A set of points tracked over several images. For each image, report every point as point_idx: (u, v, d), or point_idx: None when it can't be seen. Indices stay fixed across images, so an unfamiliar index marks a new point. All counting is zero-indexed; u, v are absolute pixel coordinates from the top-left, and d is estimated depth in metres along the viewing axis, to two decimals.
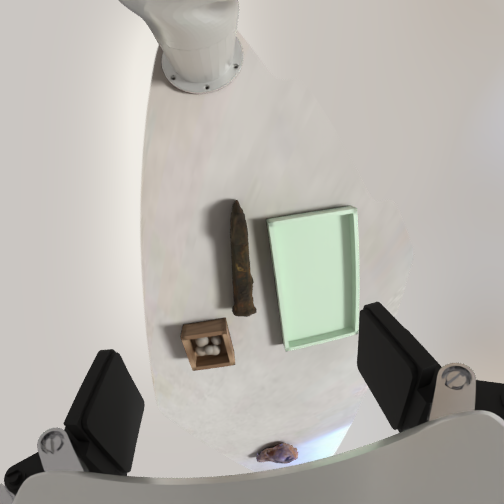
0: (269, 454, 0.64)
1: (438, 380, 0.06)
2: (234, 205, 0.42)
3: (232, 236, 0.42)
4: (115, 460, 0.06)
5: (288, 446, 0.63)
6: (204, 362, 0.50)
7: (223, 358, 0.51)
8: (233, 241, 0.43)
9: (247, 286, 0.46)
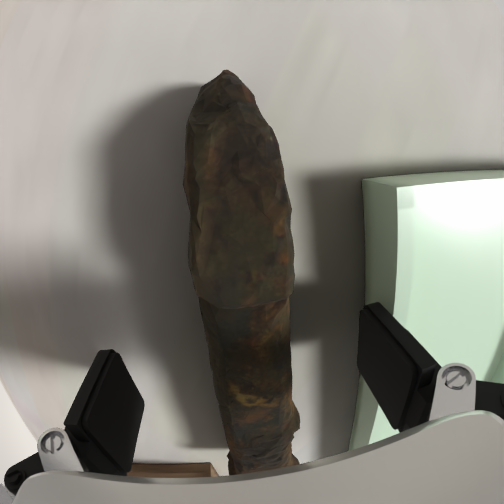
0: None
1: (438, 380, 0.06)
2: (210, 83, 0.06)
3: (197, 263, 0.06)
4: (115, 460, 0.06)
5: None
6: None
7: None
8: (206, 292, 0.07)
9: (279, 441, 0.10)
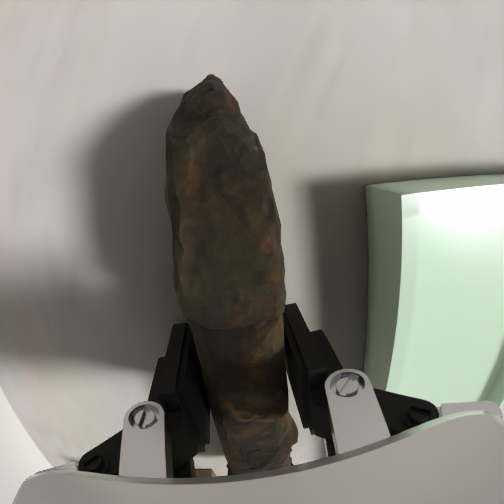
0: None
1: (325, 384, 0.07)
2: (193, 89, 0.06)
3: (181, 283, 0.06)
4: (199, 431, 0.08)
5: None
6: None
7: None
8: (192, 313, 0.06)
9: (276, 455, 0.10)
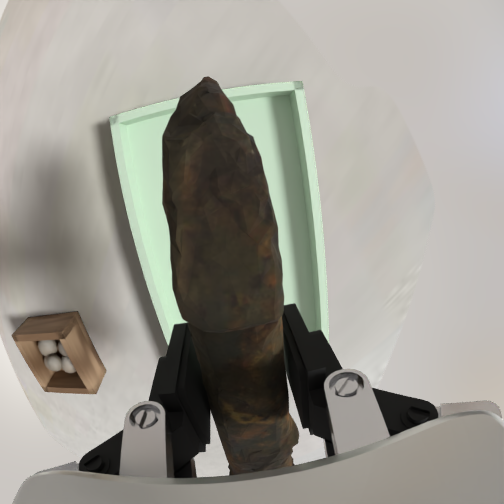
0: None
1: (324, 384, 0.07)
2: (189, 92, 0.06)
3: (179, 287, 0.06)
4: (200, 431, 0.08)
5: None
6: (59, 381, 0.25)
7: None
8: (190, 316, 0.06)
9: (277, 456, 0.10)
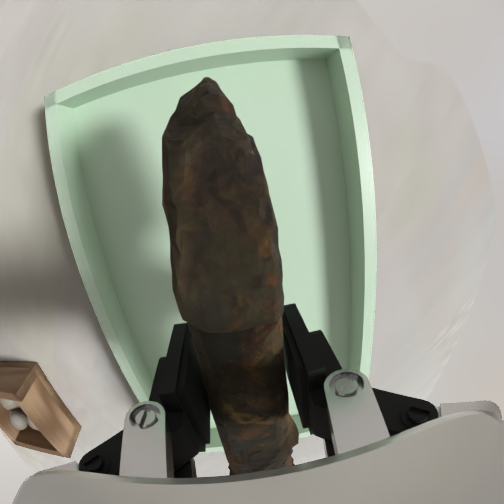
0: None
1: (324, 384, 0.07)
2: (189, 92, 0.06)
3: (179, 288, 0.06)
4: (200, 431, 0.08)
5: None
6: (29, 435, 0.16)
7: None
8: (191, 317, 0.06)
9: (277, 456, 0.10)
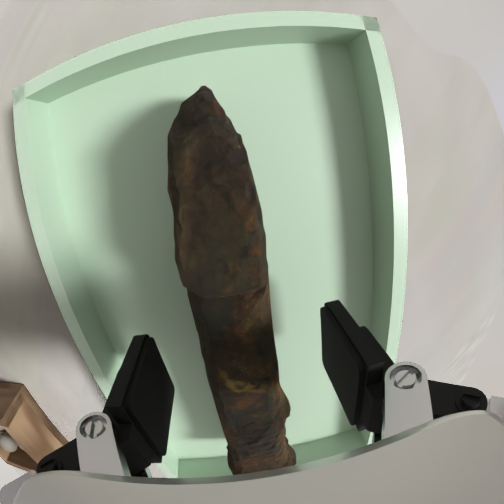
0: None
1: (385, 378, 0.06)
2: (189, 99, 0.07)
3: (180, 257, 0.07)
4: (153, 443, 0.07)
5: None
6: (20, 456, 0.14)
7: None
8: (190, 283, 0.08)
9: (270, 428, 0.11)
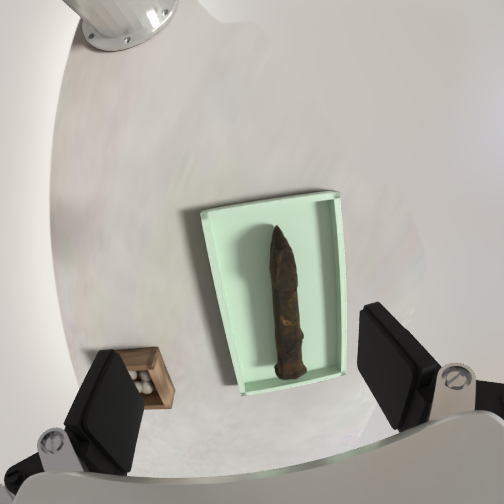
0: None
1: (438, 380, 0.06)
2: (275, 234, 0.29)
3: (276, 280, 0.29)
4: (115, 460, 0.06)
5: None
6: None
7: (158, 398, 0.35)
8: (277, 287, 0.29)
9: (296, 343, 0.32)
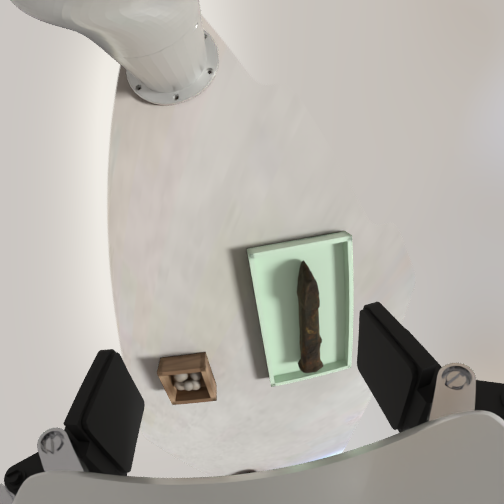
0: None
1: (438, 380, 0.06)
2: (304, 270, 0.39)
3: (304, 303, 0.39)
4: (115, 460, 0.06)
5: None
6: (184, 396, 0.45)
7: (204, 393, 0.45)
8: (305, 308, 0.39)
9: (317, 346, 0.42)
